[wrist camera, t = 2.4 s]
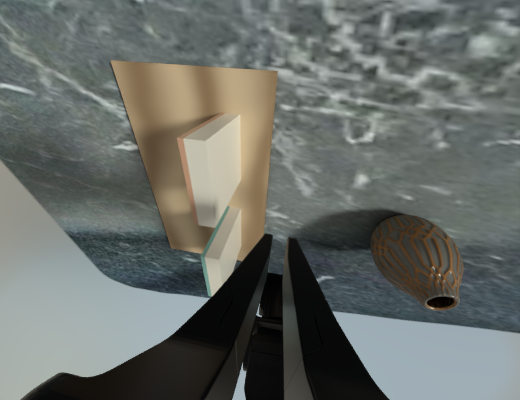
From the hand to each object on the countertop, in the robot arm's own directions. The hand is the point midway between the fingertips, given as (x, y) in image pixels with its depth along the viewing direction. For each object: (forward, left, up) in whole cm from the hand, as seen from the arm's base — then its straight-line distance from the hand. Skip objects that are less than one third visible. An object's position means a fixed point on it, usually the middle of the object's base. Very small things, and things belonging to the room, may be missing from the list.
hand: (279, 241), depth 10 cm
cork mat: (+10, +5, -12) cm, 16 cm away
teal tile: (+6, +11, -12) cm, 17 cm away
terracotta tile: (+6, 0, -12) cm, 13 cm away
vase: (-13, +7, -12) cm, 20 cm away
